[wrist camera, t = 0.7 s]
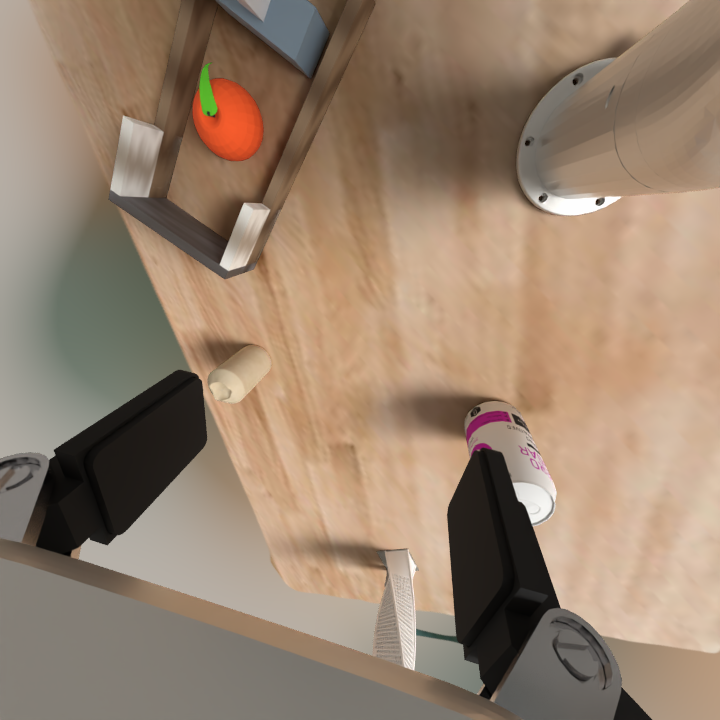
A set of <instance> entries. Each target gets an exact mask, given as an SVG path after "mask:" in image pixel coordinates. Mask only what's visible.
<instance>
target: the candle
mask: <svg viewBox="0 0 720 720" xmlns="http://www.w3.org/2000/svg"><path fill="white" fill-rule="evenodd" d="M271 366H272V361H271V358H270V356H269V354H268V353H267V351H266V350H264V349H263V348H262V347H260V346H257V345H248V346H245V347H244V348H242V349H241V350H240V351H238V352H237V353H236V354H234V355H233V356H232V357H230V358H229V359H228V360H226V361H225V362H224V363H222V364H221V365H220V366H218V367H217V368H216V369H215V370H213V371H212V372H211V373H210V374H209V376H208V386H209V389H210V391H211V393H212V394H213V396H214V398H215V399H216V400H217V401H222V402H226V403H231V404H233V403H238V402H240V401H241V400H242V399H243V398H244V397H245V396H246V395H247V394H248V393H249V392H250V391H251V390H252V389H253V388H254V387H255V386H256V385H257V383H258V382H259V381H260V380H261V379H262V378H263V377H264V376H265V375H266V374H267V373H268V372H269V370H270V369H271Z"/></svg>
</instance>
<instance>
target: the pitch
mask: <svg viewBox="0 0 720 720" xmlns="http://www.w3.org/2000/svg"><path fill="white" fill-rule="evenodd" d="M217 5H218V3H217V2H216V1H215V0H182V2H181V6H180V11H179V16H178V20H177V25H176V29H175V34H174V38H173V43H172V47H171V52H170V56H169V61H168V65H167V70H166V74H165V79H164V83H163V88H162V92H161V97H160V101H159V106H158V111H157V115H156V120H155V124H154V125H152V124H149V123H146V122H143V121H139V120H136V119H133V118H130V117H127V116H124V115H123V120H122V126H121V131H120V137H119V143H118V149H117V154H116V160H115V166H114V172H113V177H112V183H111V189H110V194H109V200H110V201H111V202H113V203H114V204H116V205H117V206H119V207H120V208H122V209H123V210H125V211H126V212H127V213H129V214H130V215H132V216H133V217H135V218H136V219H138V220H139V221H141V222H142V223H143V224H145V225H146V226H148V227H149V228H151V229H152V230H154V231H155V232H157V233H158V234H159V235H161V236H162V237H164V238H165V239H167V240H168V241H170V242H171V243H173V244H174V245H175V246H177V247H178V248H180V249H181V250H183V251H184V252H186V253H187V254H189V255H190V256H191V257H193V258H194V259H196V260H197V261H199V262H200V263H202V264H203V265H205V266H206V267H208V268H209V269H210V270H212V271H213V272H215V273H216V274H218V275H219V276H221V277H222V278H224V279H227V278H230V277H233V276H236V275H239V274H242V273H245V272H248V271H250V270H253V269H254V268H255V266H256V263H257V261H258V259H259V257H260V255H261V252H262V250H263V248H264V246H265V244H266V241H267V239H268V237H269V235H270V233H271V231H272V228H273V226H274V224H275V222H276V220H277V217H278V215H279V213H280V211H281V209H282V207H283V204H284V202H285V200H286V198H287V196H288V193H289V191H290V189H291V187H292V185H293V183H294V180H295V178H296V176H297V174H298V172H299V169H300V167H301V165H302V163H303V161H304V158H305V156H306V154H307V152H308V150H309V148H310V145H311V143H312V141H313V139H314V137H315V134H316V132H317V130H318V128H319V126H320V124H321V121H322V119H323V117H324V115H325V113H326V110H327V108H328V106H329V104H330V102H331V100H332V97H333V95H334V93H335V91H336V89H337V86H338V84H339V82H340V80H341V78H342V76H343V73H344V71H345V69H346V67H347V65H348V62H349V60H350V58H351V56H352V54H353V51H354V49H355V47H356V45H357V43H358V41H359V38H360V36H361V34H362V32H363V30H364V27H365V25H366V23H367V21H368V19H369V17H370V14H371V12H372V10H373V8H374V6H375V1H374V0H347V3H346V5H345V7H344V10H343V12H342V15H341V17H340V19H339V22H338V24H337V26H336V29H335V31H334V34H333V36H332V38H331V41H330V43H329V45H328V48H327V50H326V52H325V55H324V57H323V60H322V62H321V64H320V67H319V69H318V71H317V74H316V76H315V79H314V81H313V83H312V86H311V88H310V90H309V93H308V95H307V97H306V100H305V102H304V105H303V107H302V109H301V112H300V114H299V116H298V119H297V121H296V124H295V126H294V128H293V131H292V133H291V135H290V138H289V140H288V142H287V145H286V147H285V150H284V152H283V154H282V157H281V159H280V161H279V164H278V166H277V169H276V171H275V173H274V176H273V178H272V180H271V183H270V185H269V187H268V190H267V192H266V195H265V197H264V199H263V202H262V203H244V204H243V206H242V209H241V212H240V214H239V217H238V219H237V222H236V224H235V227H234V229H233V232H232V234H231V237H230V240H229V242H228V241H226V240H225V239H223V238H222V237H221V236H219V235H218V234H216V233H215V232H214V231H212V230H211V229H209V228H208V227H206V226H205V225H204V224H202V223H201V222H199V221H198V220H196V219H195V218H194V217H192V216H191V215H189V214H188V213H186V212H185V211H184V210H182V209H181V208H179V207H178V206H177V205H175V204H174V203H172V202H171V201H169V200H168V199H167V198H166V197H167V193H168V190H169V186H170V182H171V178H172V175H173V171H174V167H175V163H176V160H177V156H178V152H179V148H180V144H181V141H182V137H183V133H184V129H185V126H186V122H187V118H188V114H189V111H190V107H191V103H192V99H193V96H194V92H195V88H196V84H197V81H198V77H199V73H200V69H201V66H202V62H203V58H204V54H205V50H206V47H207V43H208V39H209V35H210V32H211V28H212V24H213V20H214V17H215V13H216V9H217Z"/></svg>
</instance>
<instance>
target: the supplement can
mask: <svg viewBox="0 0 720 720" xmlns="http://www.w3.org/2000/svg"><path fill="white" fill-rule="evenodd" d="M464 428H465V434H466V439H467V445H468V451H469V456H470V458H471V456H472V454H473V452H474V451H475V450H477V451H480V449H481V448H483V447H484V448H488V449H492V450H496V451H500V452H502V453H503V455H504V458H505V462H506V465H507V468H508V471H509V474H510V477H511V480H512V483H513V486H514V489H515V493H516V496H517V499H518V501H519V502H522V503H523V504H524V505H525V507H526V509H527V512H528V515H529V517H530V520H531V523H532V526H536V525H540V524H541V523H543V522H545V521H547V520H548V519H549V518H550V517H551V516H552V514H553V513H554V510H555V505H556V504H555V499H556V494H557V492H556V489H555V486H554V483H553V481H552V479H551V477H550V474H549V472H548V470H547V468H546V466H545V464H544V462H543V460H542V457H541V455H540V453H539V451H538V449H537V447H536V445H535V443H534V440H533V438H532V436H531V434H530V432H529V430H528V428H527V426H526V424H525V421H524V419H523V417H522V415H521V413H520V412H519V411H518V410H517V409H516V408H515V407H514V406H512V405H510V404H508V403H506V402H499V401H491V402H484V403H482V404H479V405H477V406H475V407H474V408H473V409H472V410H471V411H469V412H468V414H467V416H466V418H465V422H464Z"/></svg>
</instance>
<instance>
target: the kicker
mask: <svg viewBox="0 0 720 720" xmlns="http://www.w3.org/2000/svg"><path fill="white" fill-rule="evenodd" d="M215 1H216V2H217V3H218V4H219V5H220V6H221V7H222V8H223V9H224V10H225V11H226V12H227V13H228V14H230V15H231V16H232V17H233V18H235V19H236V20H237V21H238V22H240V23H241V24H242V25H243V26H245V27H246V28H247V29H249V30H250V31H251V32H252V33H254V34H255V35H256V36H257V37H259V38H260V39H261V40H262V41H264V42H265V43H266V44H267V45H269V46H270V47H271V48H272V49H274V50H275V51H276V52H277V53H279V54H280V55H281V56H283V57H284V58H285V59H286V60H288V61H289V62H290V63H291V64H293V65H294V66H295V67H296V68H298V69H299V70H300V71H301V72H303V73H304V74H305V75H306V76H308V77H309V78H310V79H311V77H312V75H313V72H314V70H315V68H316V65H317V63H318V60H319V58H320V56H321V53H322V51H323V48H324V46H325V44H326V41H327V39H328V36H329V34H330V33H329V31H328V29H327V27H326V26H325V24H324V22H323V20H322V18H321V16H320V14H319V13H318V11H317V9H316V7H315V6H313V5H312V4H311V3H310V2H309V1H307V0H215Z"/></svg>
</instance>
